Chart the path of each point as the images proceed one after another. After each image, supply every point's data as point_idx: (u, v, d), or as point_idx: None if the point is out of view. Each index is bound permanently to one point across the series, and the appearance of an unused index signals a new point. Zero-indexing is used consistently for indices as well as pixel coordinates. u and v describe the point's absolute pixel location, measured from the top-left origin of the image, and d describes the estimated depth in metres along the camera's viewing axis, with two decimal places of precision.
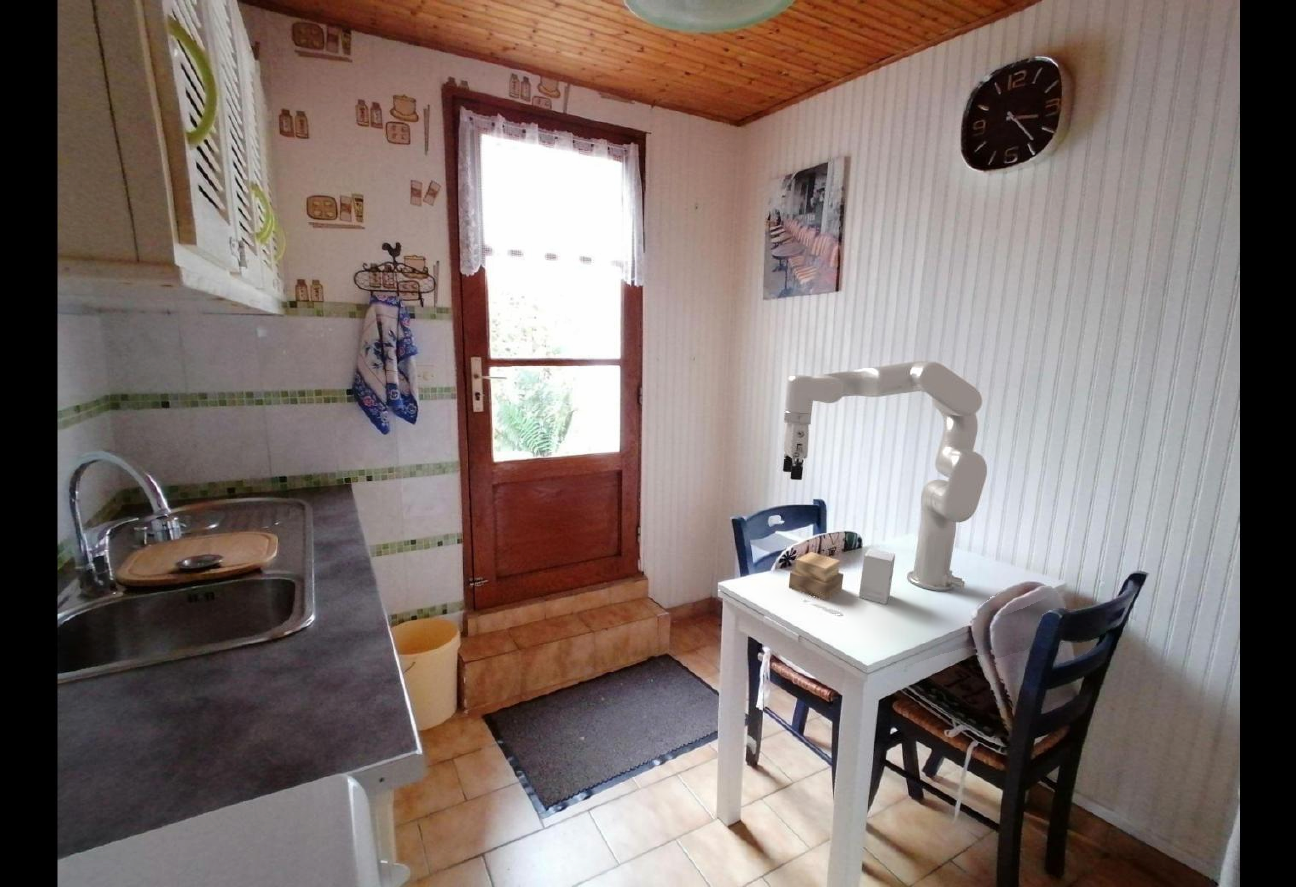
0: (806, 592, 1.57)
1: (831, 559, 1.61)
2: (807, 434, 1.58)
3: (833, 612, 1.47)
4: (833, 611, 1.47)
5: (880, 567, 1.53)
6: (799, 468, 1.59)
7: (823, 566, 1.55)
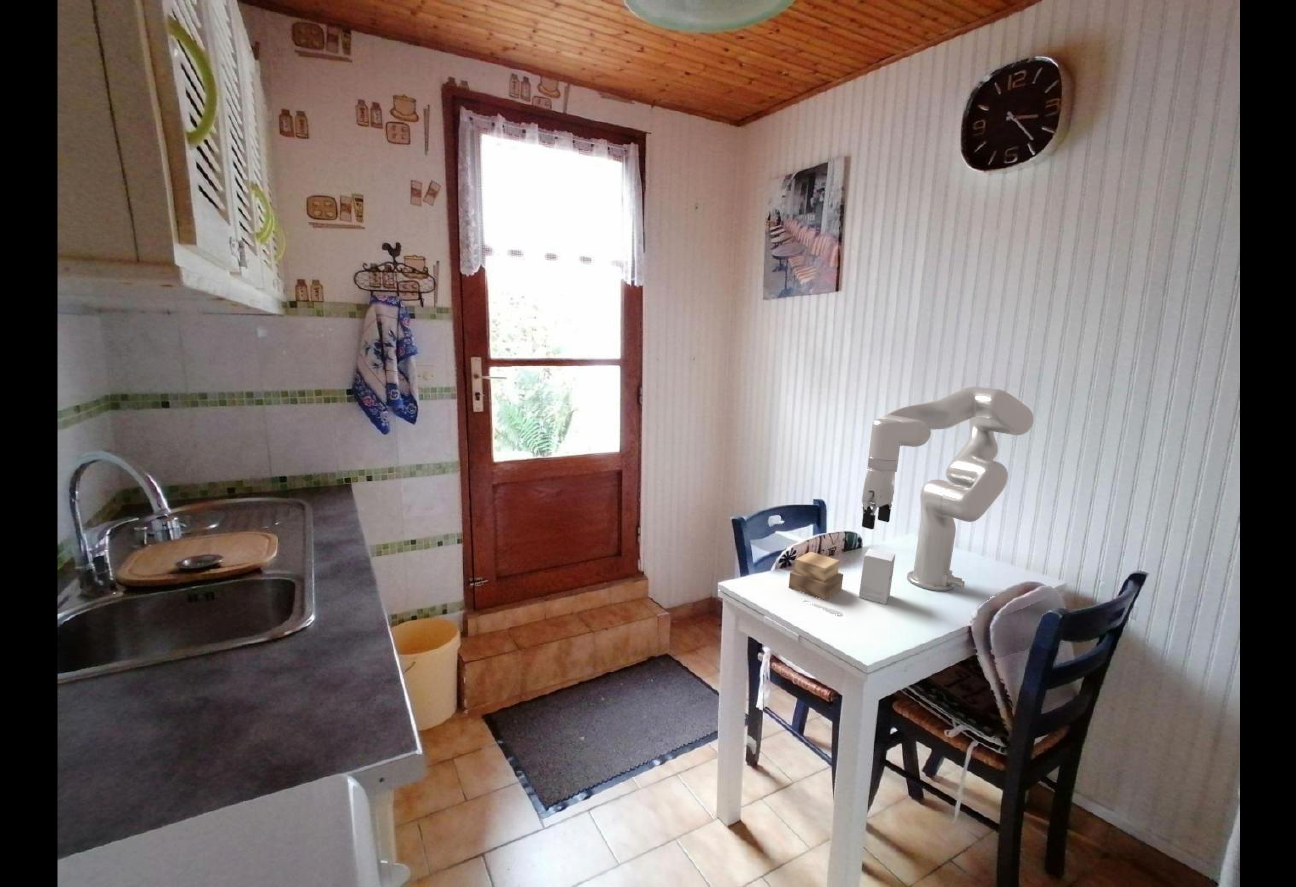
0: (806, 592, 1.57)
1: (830, 559, 1.61)
2: None
3: (833, 612, 1.47)
4: (833, 611, 1.47)
5: (880, 567, 1.53)
6: None
7: (822, 566, 1.55)
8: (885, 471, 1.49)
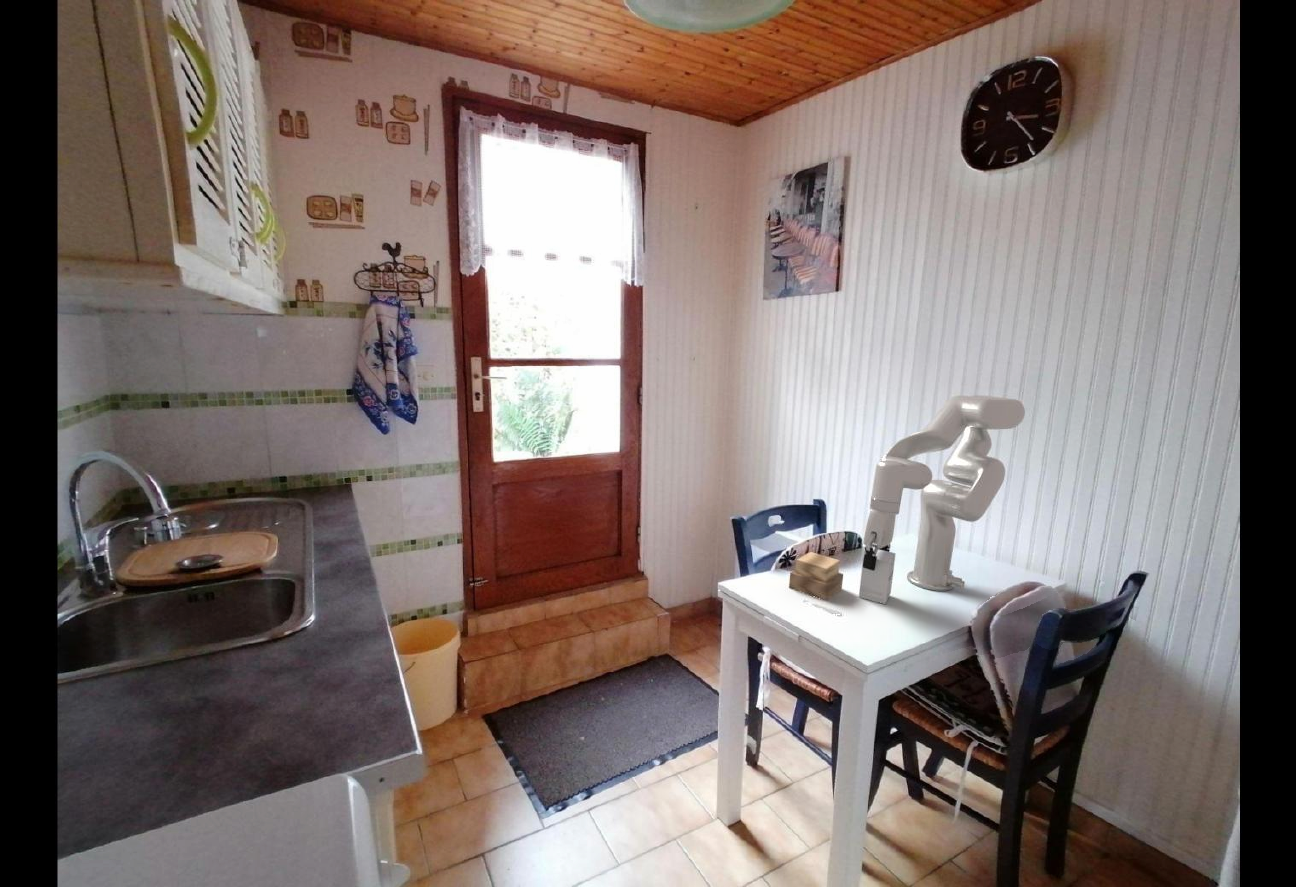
0: (806, 592, 1.57)
1: (831, 559, 1.61)
2: None
3: (833, 612, 1.47)
4: (833, 611, 1.47)
5: (879, 568, 1.52)
6: None
7: (823, 566, 1.55)
8: (888, 513, 1.49)
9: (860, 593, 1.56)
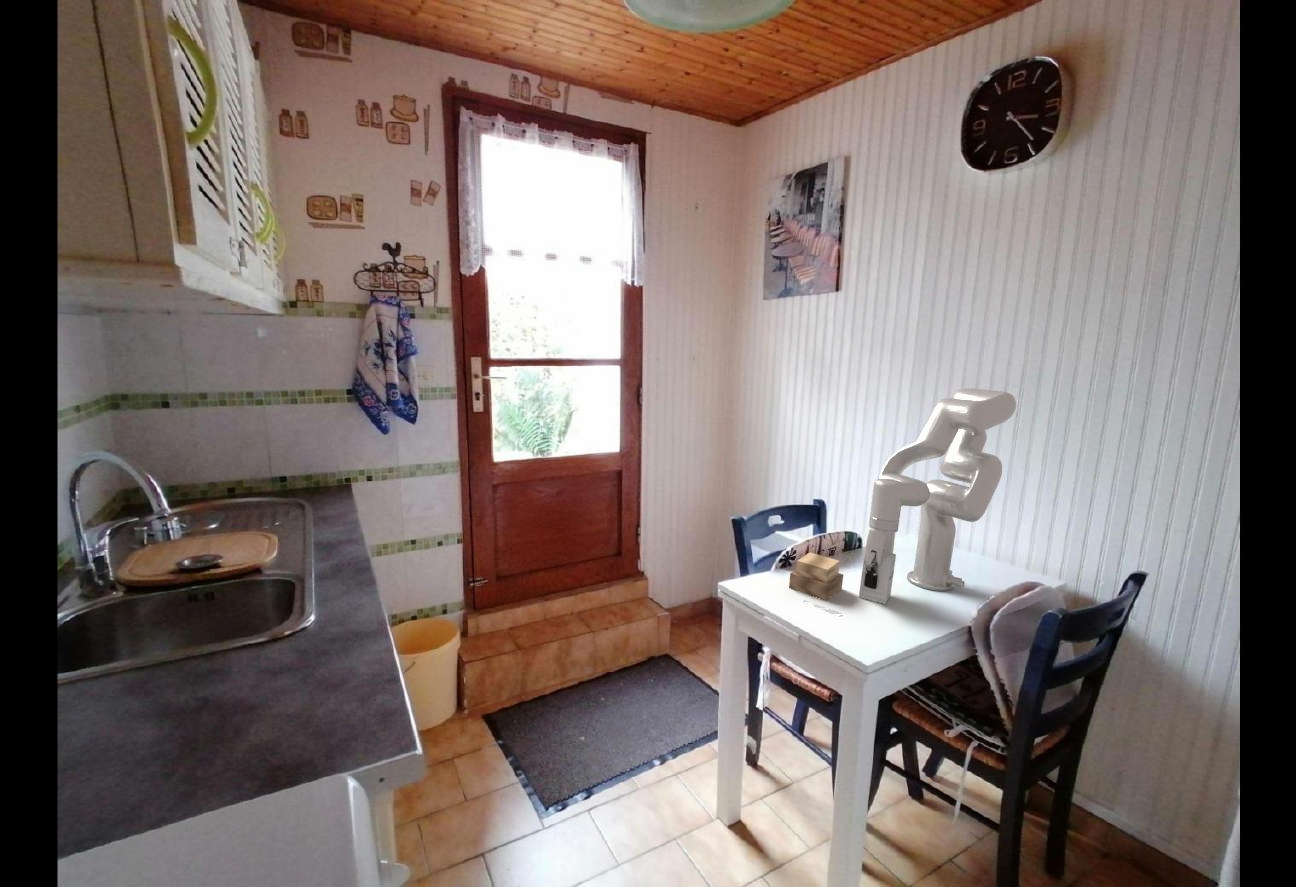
0: (806, 593, 1.57)
1: (831, 559, 1.61)
2: None
3: (833, 612, 1.47)
4: (833, 611, 1.47)
5: (880, 567, 1.52)
6: None
7: (825, 567, 1.55)
8: (887, 531, 1.51)
9: (860, 593, 1.56)
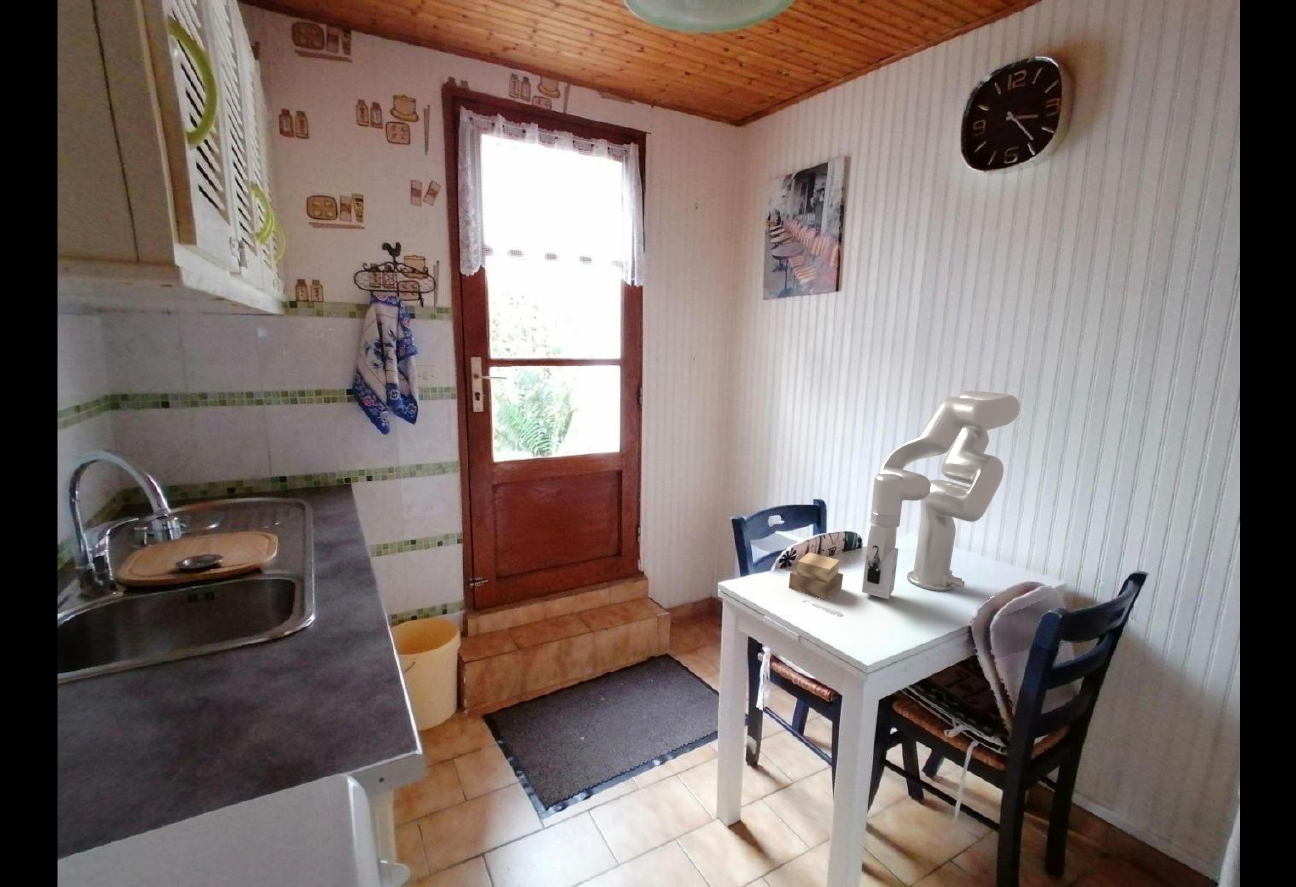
0: (806, 592, 1.57)
1: (831, 559, 1.61)
2: None
3: (833, 612, 1.47)
4: (833, 611, 1.47)
5: (882, 562, 1.53)
6: None
7: (826, 567, 1.55)
8: (889, 526, 1.51)
9: (863, 588, 1.57)
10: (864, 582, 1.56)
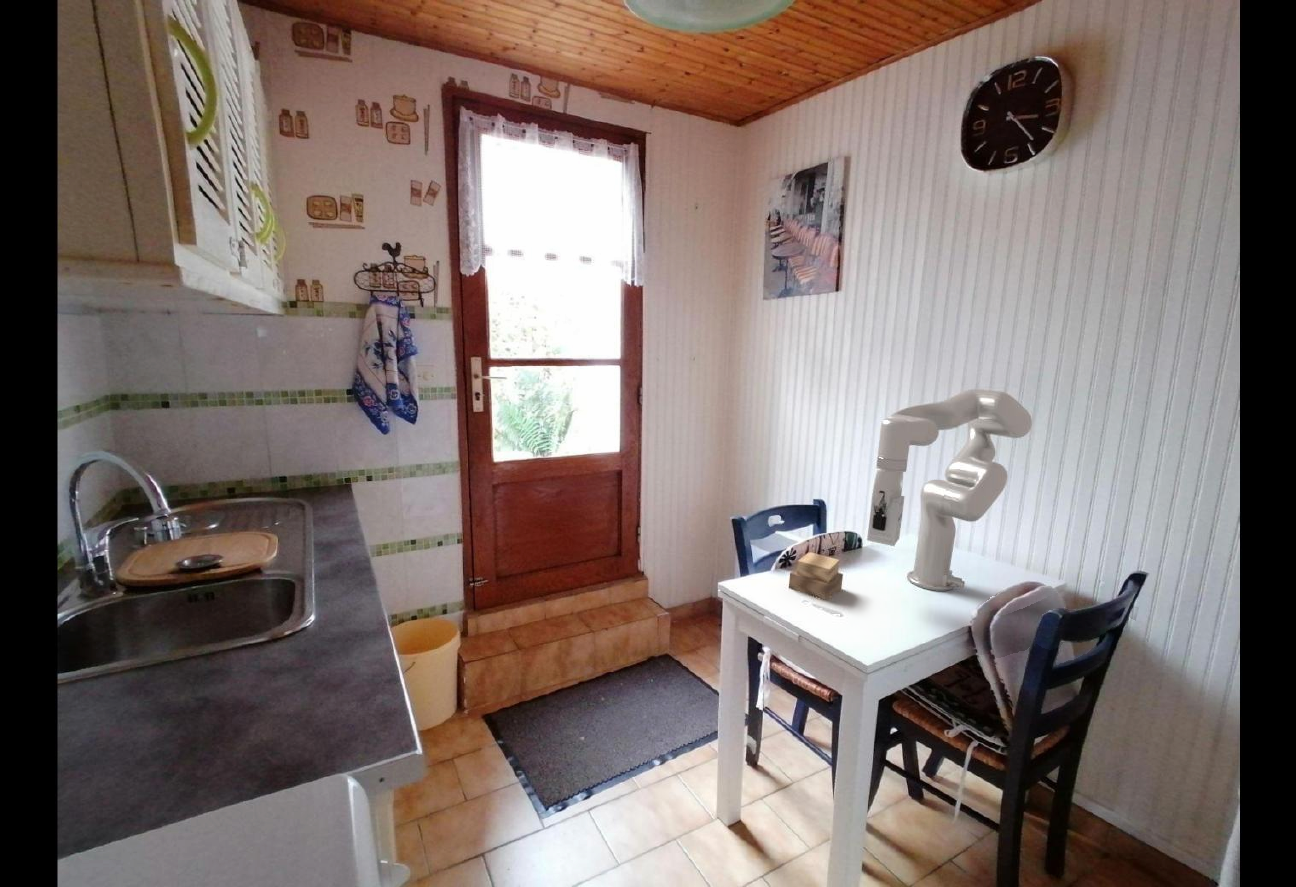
0: (806, 592, 1.57)
1: (831, 559, 1.61)
2: None
3: (833, 612, 1.47)
4: (833, 611, 1.47)
5: (888, 508, 1.50)
6: None
7: (826, 566, 1.55)
8: (895, 471, 1.48)
9: (868, 536, 1.54)
10: (869, 530, 1.53)
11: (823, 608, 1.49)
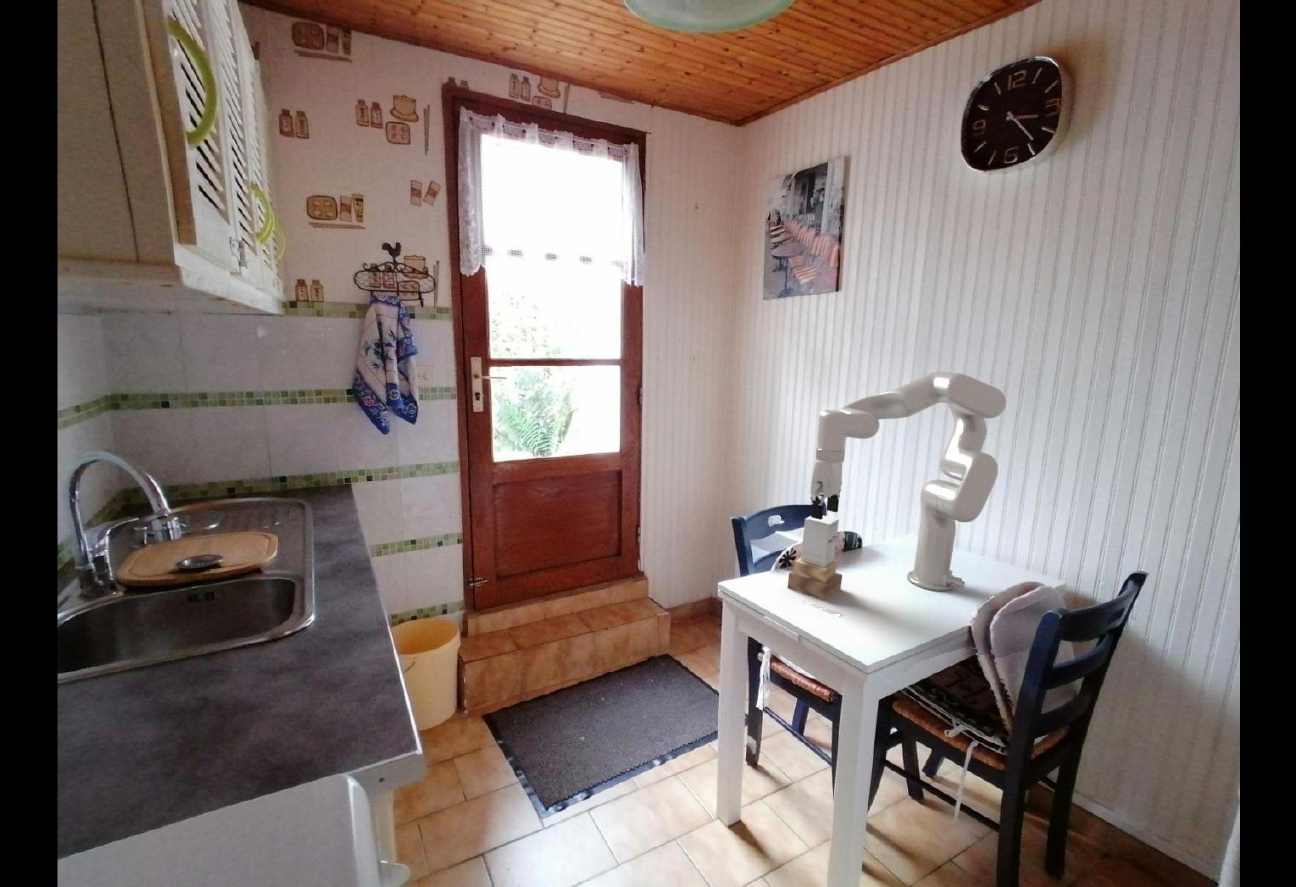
0: (805, 593, 1.57)
1: None
2: None
3: (833, 612, 1.47)
4: (833, 612, 1.47)
5: (819, 530, 1.54)
6: None
7: (822, 567, 1.55)
8: (832, 462, 1.51)
9: (802, 556, 1.58)
10: (802, 550, 1.58)
11: None
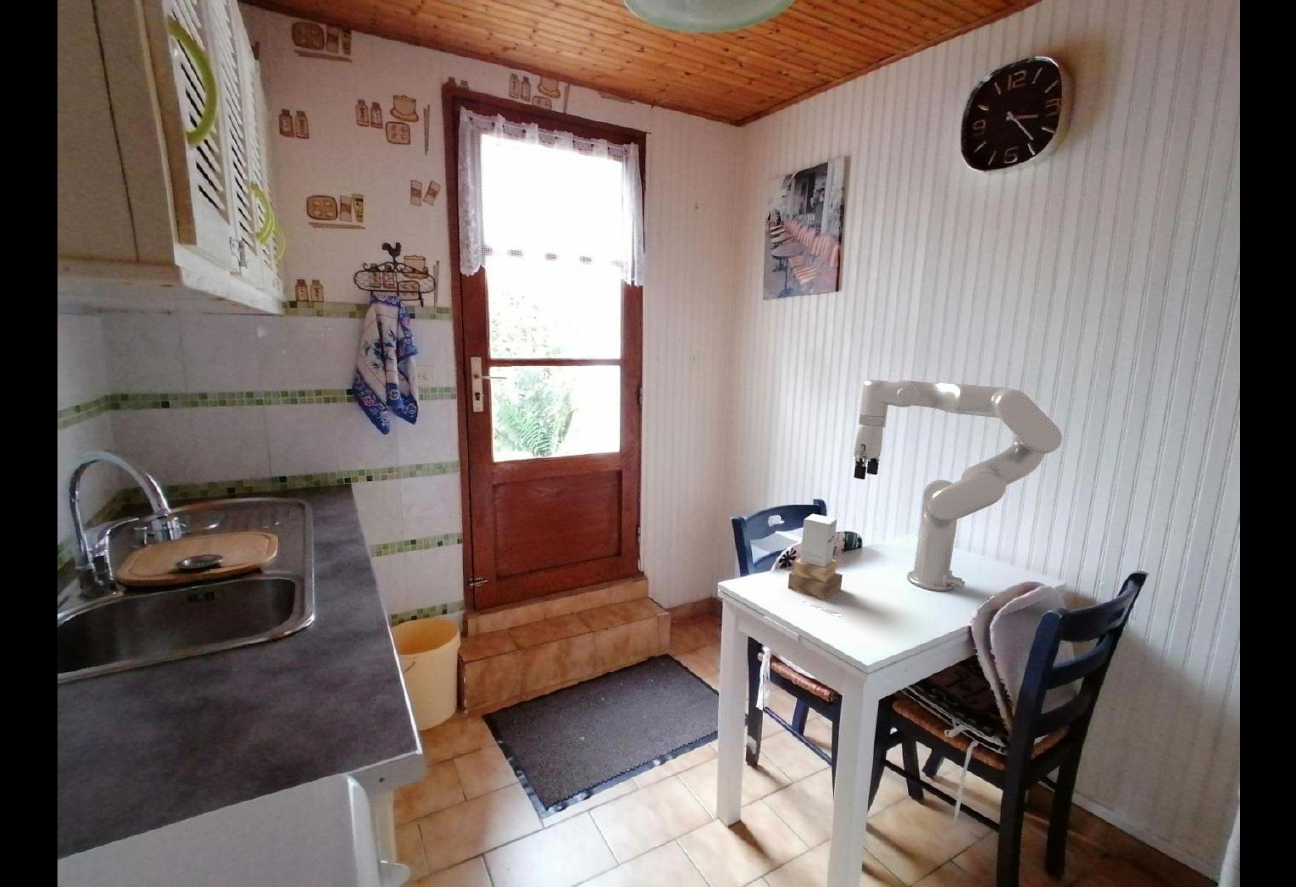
0: (805, 593, 1.57)
1: None
2: None
3: (833, 613, 1.46)
4: (833, 612, 1.47)
5: (819, 530, 1.54)
6: None
7: (823, 567, 1.55)
8: (875, 426, 1.65)
9: (801, 557, 1.58)
10: (802, 551, 1.58)
11: (823, 609, 1.48)
